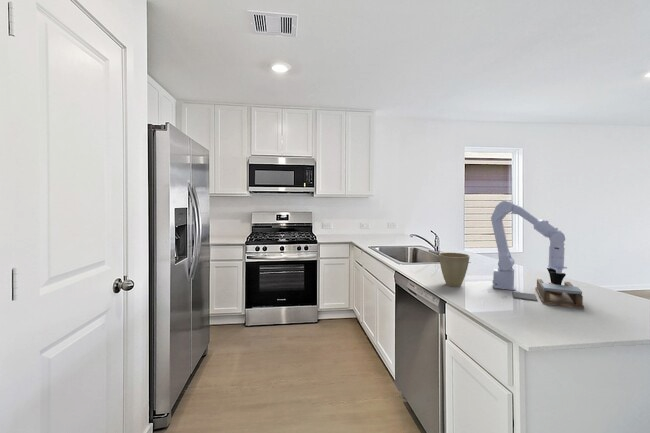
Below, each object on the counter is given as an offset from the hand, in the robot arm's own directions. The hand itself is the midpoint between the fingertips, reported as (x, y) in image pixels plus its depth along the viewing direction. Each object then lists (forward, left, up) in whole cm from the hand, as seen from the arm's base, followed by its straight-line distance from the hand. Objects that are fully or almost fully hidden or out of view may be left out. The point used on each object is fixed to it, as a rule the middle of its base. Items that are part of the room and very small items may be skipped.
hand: (555, 285), depth 146 cm
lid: (0, -12, +1) cm, 12 cm away
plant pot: (-44, -3, -5) cm, 44 cm away
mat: (-13, -10, -4) cm, 17 cm away
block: (0, 0, -5) cm, 5 cm away
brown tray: (0, -6, -4) cm, 7 cm away
